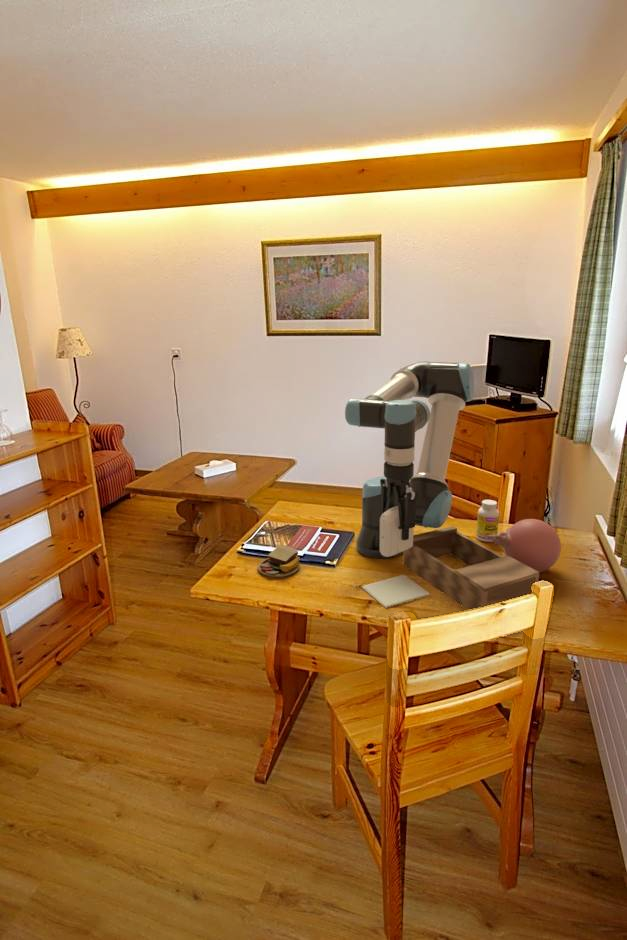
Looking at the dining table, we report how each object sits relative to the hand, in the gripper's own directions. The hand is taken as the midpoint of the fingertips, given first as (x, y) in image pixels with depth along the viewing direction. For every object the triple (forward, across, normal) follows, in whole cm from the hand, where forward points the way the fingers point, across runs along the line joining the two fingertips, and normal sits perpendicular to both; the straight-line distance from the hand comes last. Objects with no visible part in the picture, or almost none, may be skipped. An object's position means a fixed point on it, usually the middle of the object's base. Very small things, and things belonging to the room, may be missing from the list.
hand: (396, 545), depth 149 cm
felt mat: (+14, 0, 0) cm, 14 cm away
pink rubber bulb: (+14, +6, +40) cm, 43 cm away
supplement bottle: (+14, -15, +46) cm, 51 cm away
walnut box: (+14, +5, +20) cm, 25 cm away
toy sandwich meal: (+14, -28, -22) cm, 39 cm away
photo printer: (+2, 0, 0) cm, 2 cm away
